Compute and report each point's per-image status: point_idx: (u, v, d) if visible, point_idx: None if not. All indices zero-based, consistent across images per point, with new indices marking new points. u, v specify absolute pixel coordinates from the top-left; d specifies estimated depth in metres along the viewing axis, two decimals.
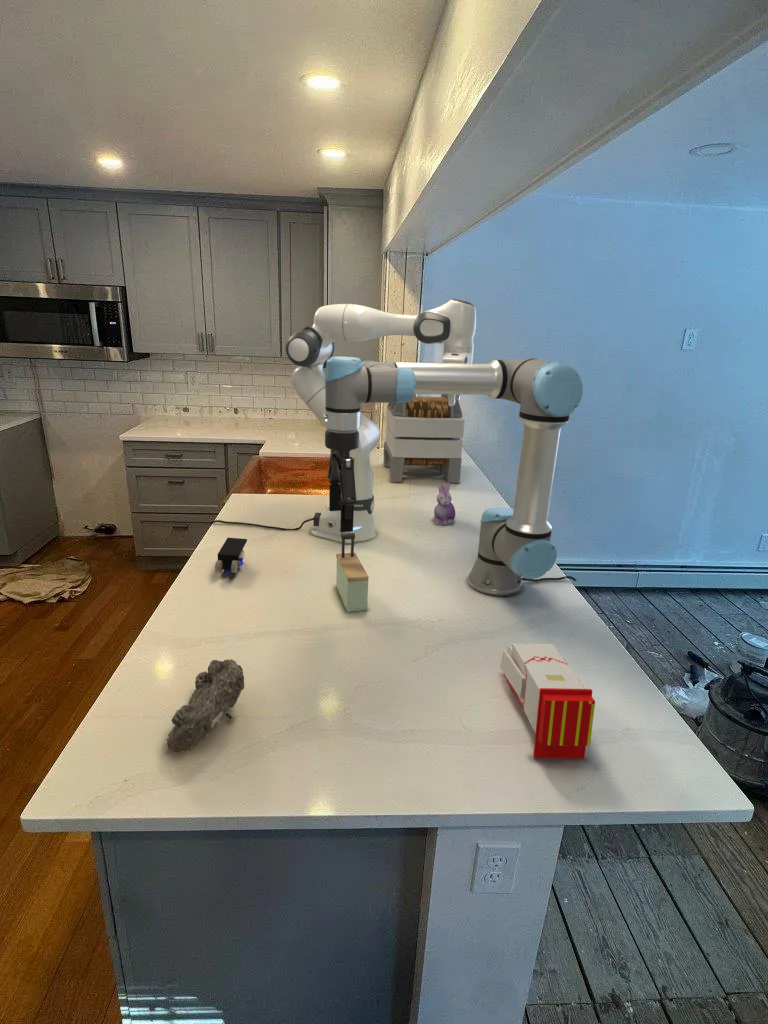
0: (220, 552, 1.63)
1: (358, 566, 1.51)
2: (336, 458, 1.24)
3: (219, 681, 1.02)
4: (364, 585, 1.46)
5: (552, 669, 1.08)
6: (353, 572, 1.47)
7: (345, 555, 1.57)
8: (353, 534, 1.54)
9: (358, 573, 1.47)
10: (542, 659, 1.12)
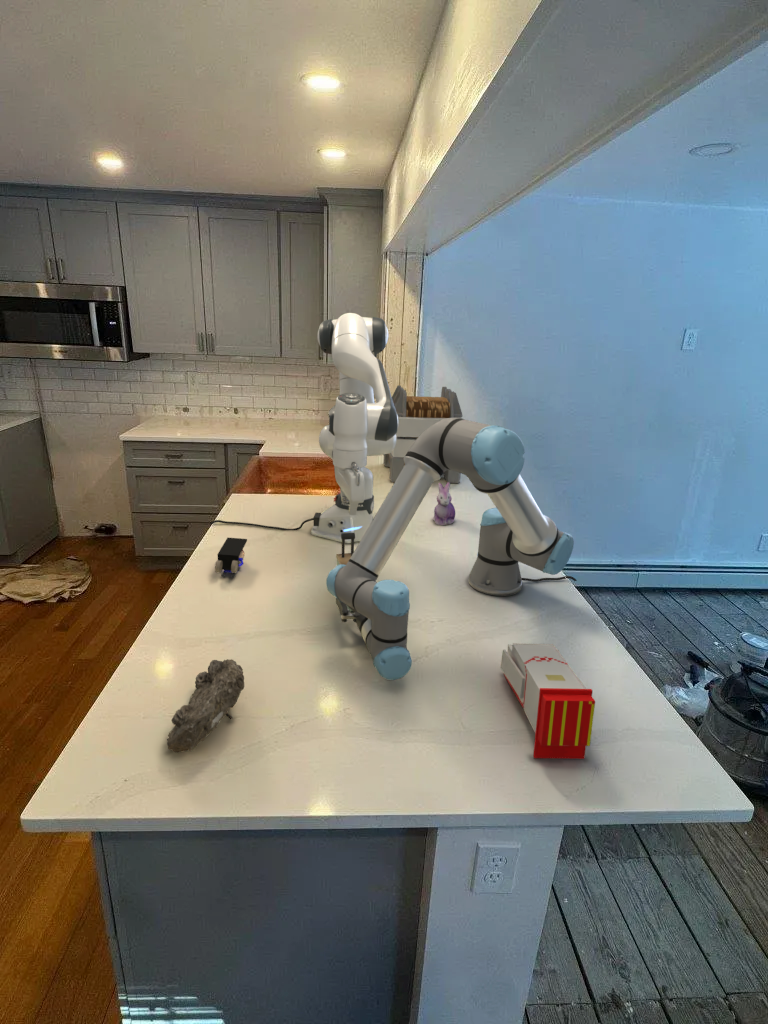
0: (220, 552, 1.63)
1: None
2: None
3: (219, 681, 1.02)
4: None
5: (552, 669, 1.08)
6: None
7: (345, 555, 1.57)
8: (353, 534, 1.54)
9: None
10: (542, 659, 1.12)
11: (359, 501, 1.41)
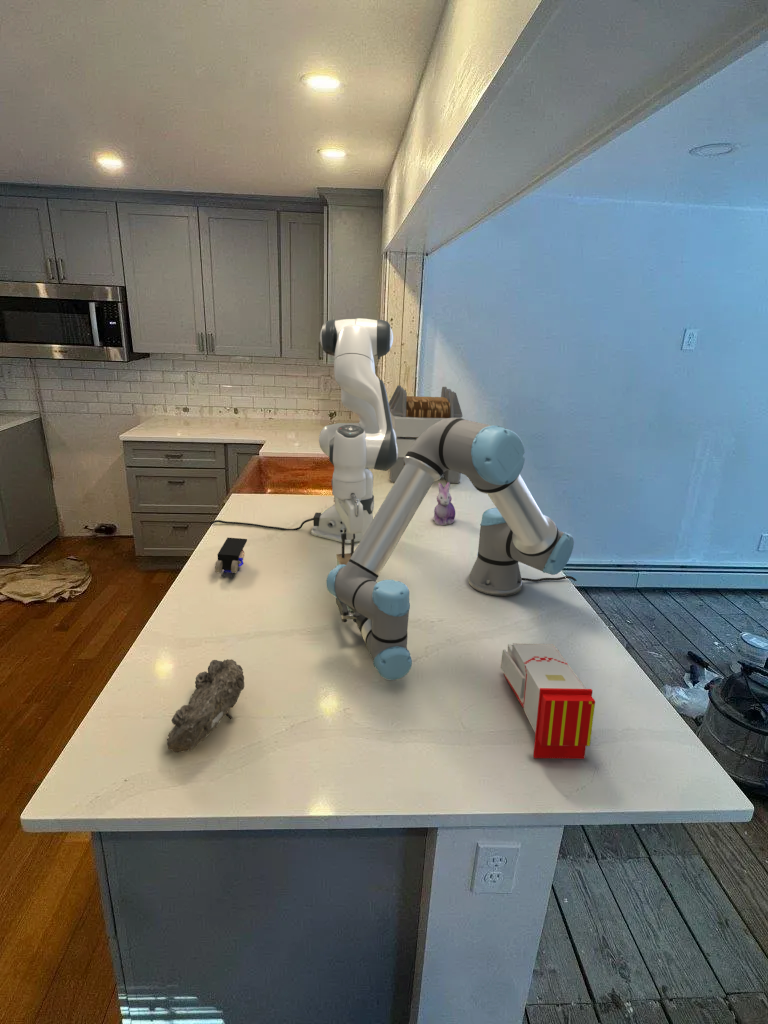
0: (220, 552, 1.63)
1: None
2: None
3: (219, 681, 1.02)
4: None
5: (552, 669, 1.08)
6: None
7: (345, 555, 1.57)
8: (353, 534, 1.54)
9: None
10: (542, 659, 1.12)
11: (358, 531, 1.44)
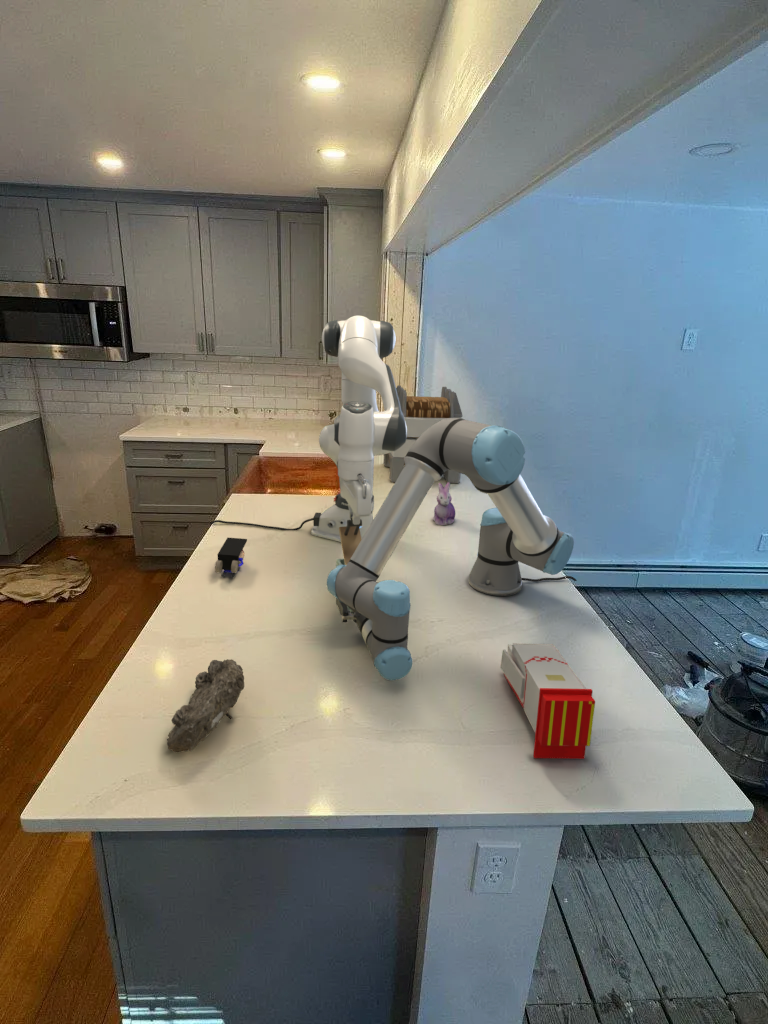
0: (220, 552, 1.63)
1: None
2: None
3: (219, 681, 1.02)
4: None
5: (552, 669, 1.08)
6: None
7: (349, 530, 1.51)
8: (360, 523, 1.45)
9: None
10: (542, 659, 1.12)
11: (366, 514, 1.34)
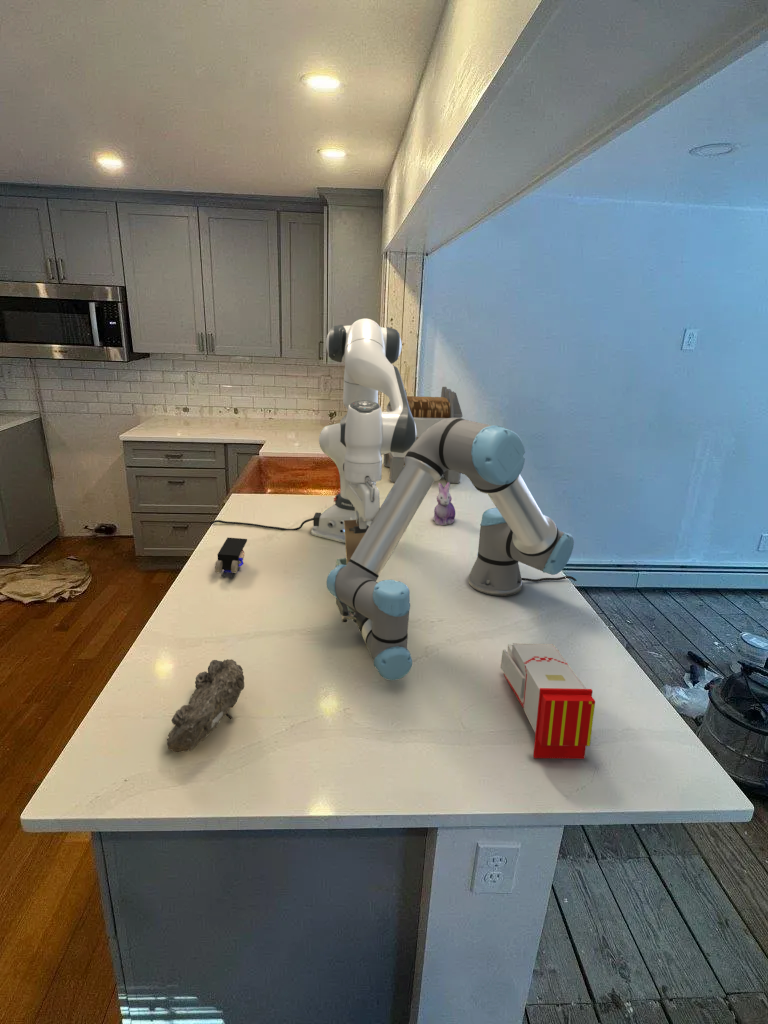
0: (220, 552, 1.63)
1: None
2: None
3: (219, 681, 1.02)
4: None
5: (552, 669, 1.08)
6: None
7: (354, 525, 1.44)
8: None
9: None
10: (542, 659, 1.12)
11: None
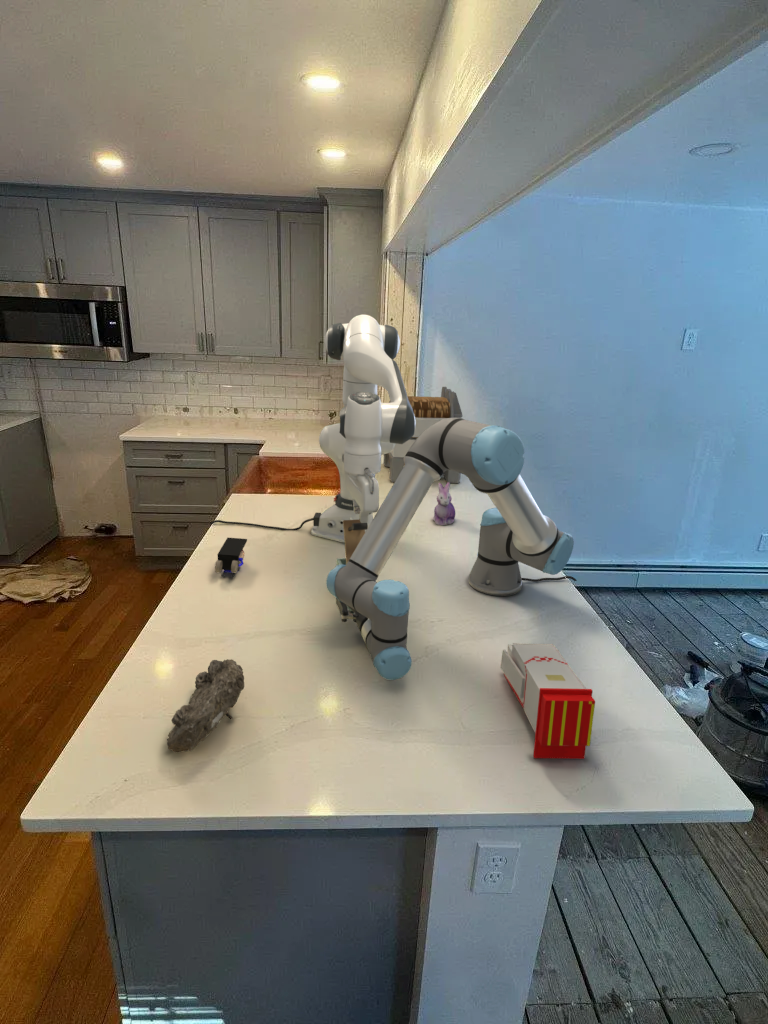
0: (220, 552, 1.63)
1: None
2: None
3: (219, 681, 1.02)
4: None
5: (552, 669, 1.08)
6: None
7: None
8: (366, 528, 1.40)
9: None
10: (542, 659, 1.12)
11: (373, 511, 1.28)
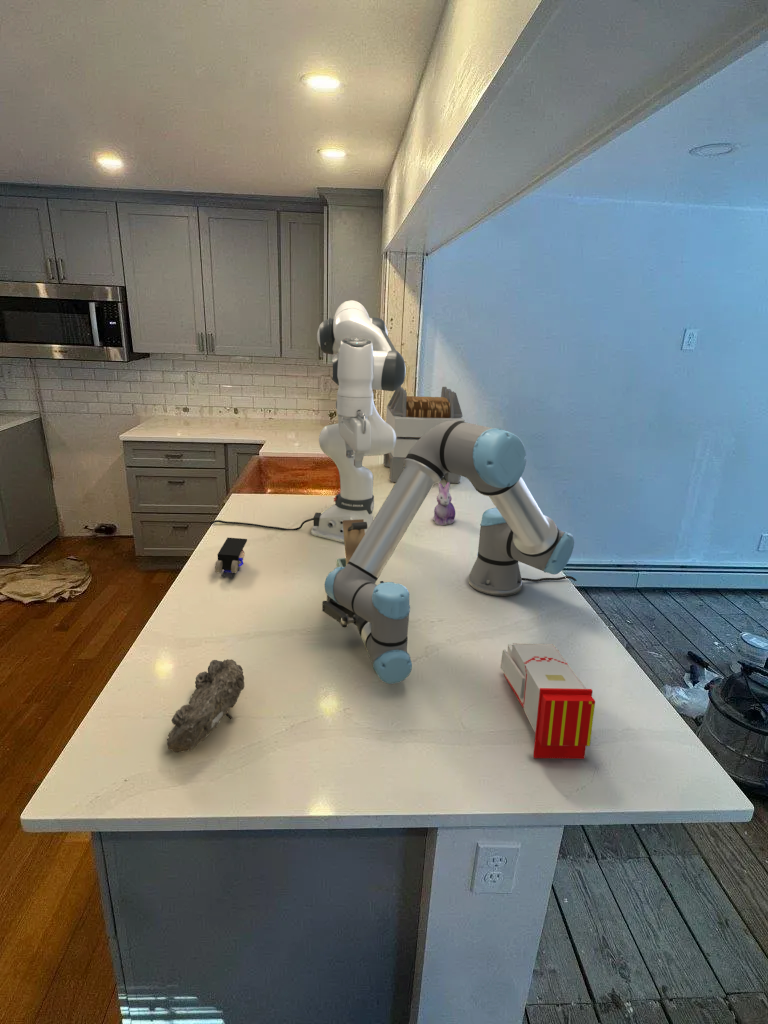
0: (220, 552, 1.63)
1: None
2: None
3: (219, 681, 1.02)
4: None
5: (552, 669, 1.08)
6: None
7: None
8: (365, 527, 1.40)
9: None
10: (542, 659, 1.12)
11: (365, 451, 1.32)
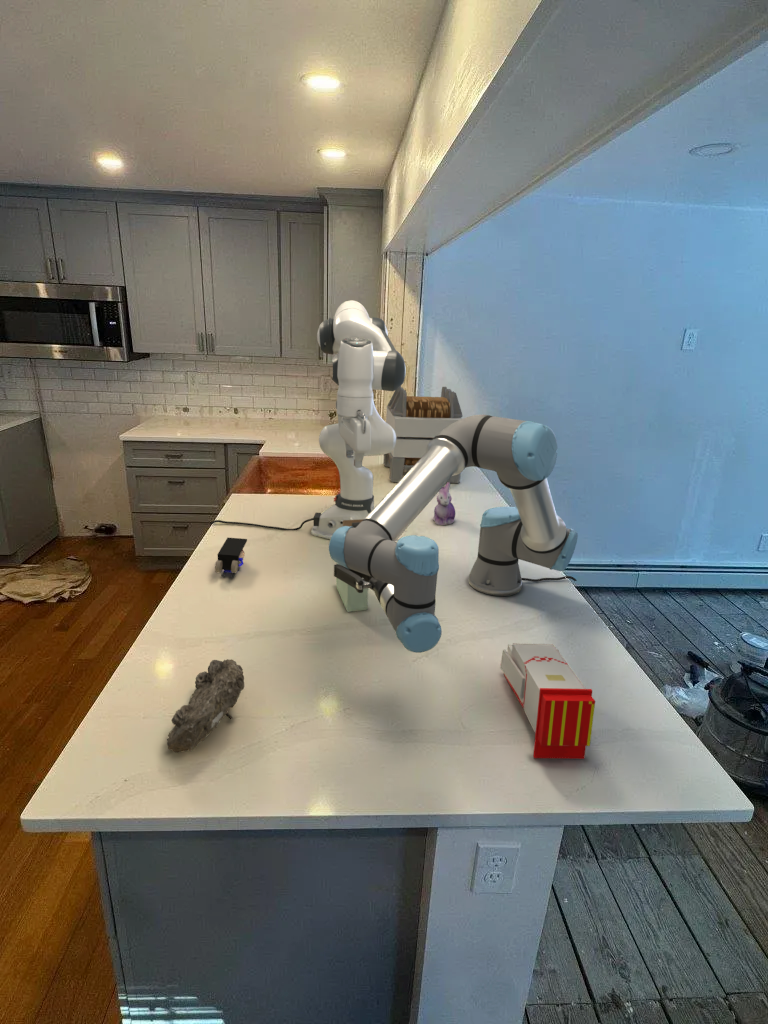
0: (220, 552, 1.63)
1: None
2: None
3: (219, 681, 1.02)
4: None
5: (552, 669, 1.08)
6: None
7: None
8: None
9: None
10: (542, 659, 1.12)
11: (365, 451, 1.32)
